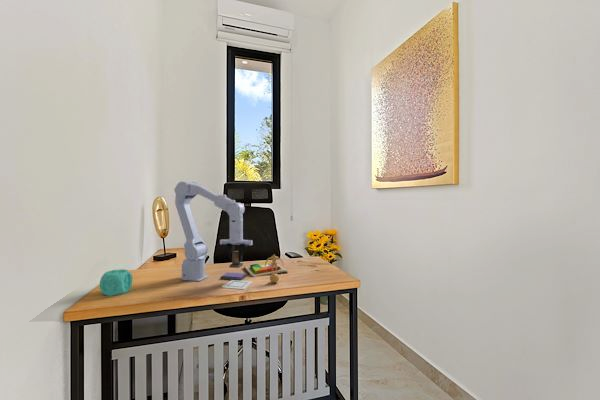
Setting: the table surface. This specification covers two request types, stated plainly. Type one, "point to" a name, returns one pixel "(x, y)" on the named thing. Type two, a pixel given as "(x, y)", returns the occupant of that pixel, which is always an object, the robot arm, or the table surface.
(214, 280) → the table surface
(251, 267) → the wooden puzzle
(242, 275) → the ink pad
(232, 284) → the card sheet
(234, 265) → the stamp
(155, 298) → the table surface
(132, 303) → the table surface
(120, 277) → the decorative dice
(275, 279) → the figurine
